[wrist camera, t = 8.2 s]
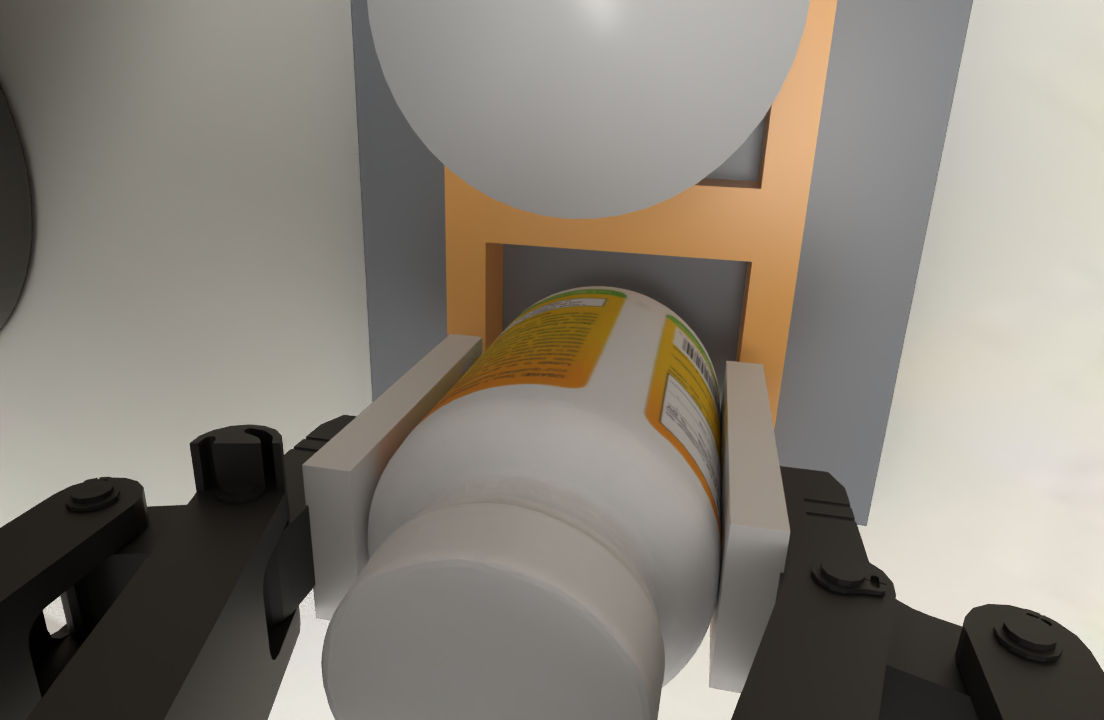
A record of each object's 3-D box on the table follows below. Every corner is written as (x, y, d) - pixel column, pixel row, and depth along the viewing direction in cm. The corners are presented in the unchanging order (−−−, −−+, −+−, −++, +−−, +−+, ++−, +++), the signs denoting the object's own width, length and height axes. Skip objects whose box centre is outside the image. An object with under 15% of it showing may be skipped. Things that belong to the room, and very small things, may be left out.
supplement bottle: (459, 435, 19) (217, 750, 10) (542, 240, 17) (332, 410, 8) (655, 532, 18) (594, 949, 9) (764, 347, 16) (821, 655, 7)
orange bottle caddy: (391, 444, 24) (214, 633, 15) (364, -150, 18) (64, -358, 10) (858, 503, 21) (950, 769, 13) (989, -168, 16) (1303, -470, 7)
